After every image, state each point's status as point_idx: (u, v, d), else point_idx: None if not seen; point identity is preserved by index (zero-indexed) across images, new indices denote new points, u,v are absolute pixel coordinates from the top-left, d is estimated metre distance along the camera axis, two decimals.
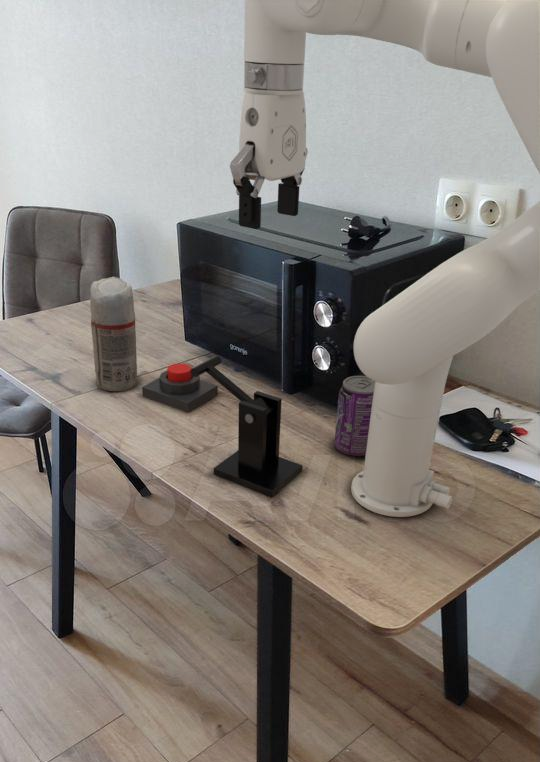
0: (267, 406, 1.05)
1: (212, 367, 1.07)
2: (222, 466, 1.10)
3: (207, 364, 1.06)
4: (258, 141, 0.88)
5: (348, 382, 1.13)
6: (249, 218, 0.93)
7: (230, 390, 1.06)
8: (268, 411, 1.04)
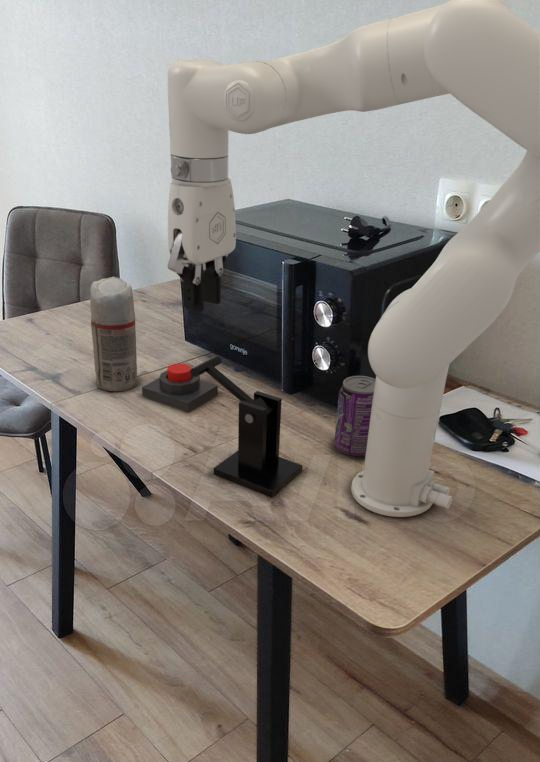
0: (267, 406, 1.05)
1: (212, 367, 1.07)
2: (222, 466, 1.10)
3: (207, 364, 1.06)
4: (184, 229, 0.92)
5: (348, 382, 1.13)
6: (192, 302, 0.99)
7: (230, 390, 1.06)
8: (268, 411, 1.04)
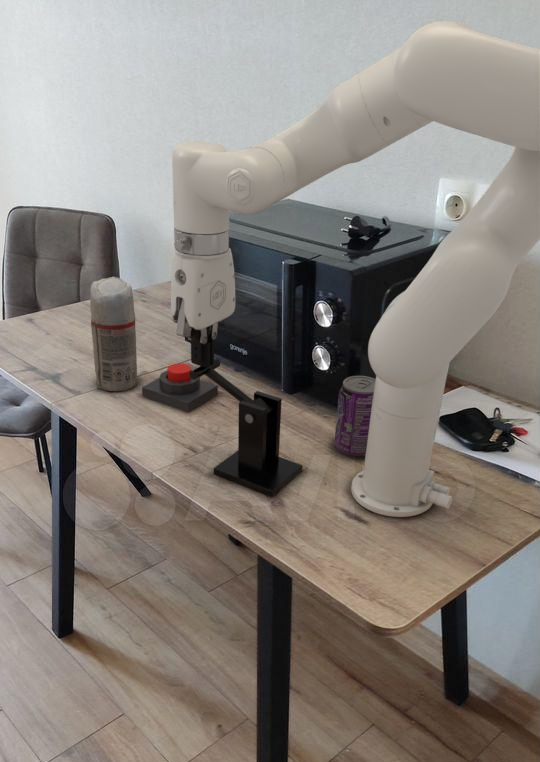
0: (267, 406, 1.05)
1: (211, 369, 1.07)
2: (222, 466, 1.10)
3: None
4: (186, 298, 0.97)
5: (348, 382, 1.13)
6: (199, 359, 1.05)
7: (230, 391, 1.06)
8: (268, 410, 1.04)
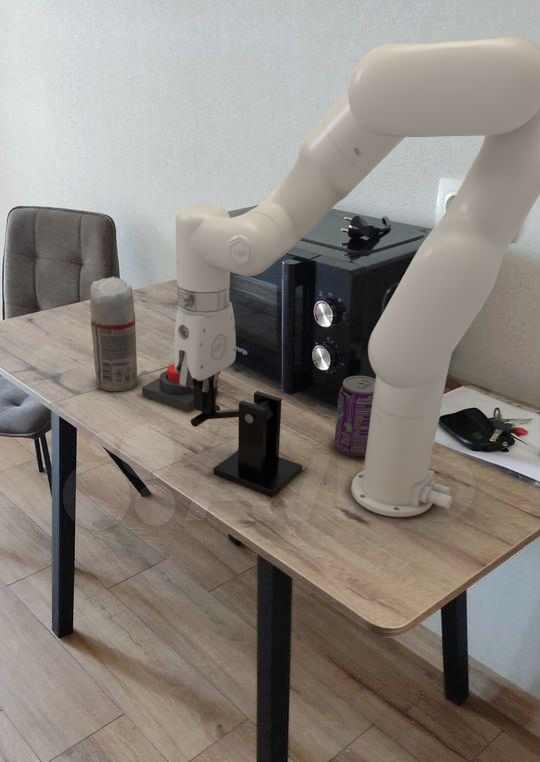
0: (262, 402, 1.05)
1: None
2: (222, 466, 1.10)
3: None
4: (189, 352, 1.01)
5: (348, 382, 1.13)
6: (201, 406, 1.09)
7: (230, 415, 1.08)
8: (263, 403, 1.04)
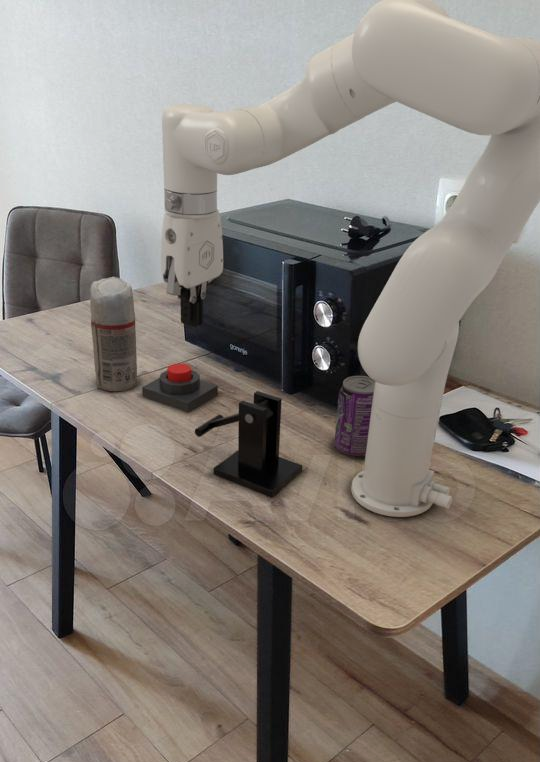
0: (261, 402, 1.05)
1: (212, 421, 1.12)
2: (222, 466, 1.10)
3: (207, 422, 1.12)
4: (176, 257, 1.00)
5: (348, 382, 1.13)
6: (189, 319, 1.09)
7: (232, 420, 1.09)
8: (262, 402, 1.04)
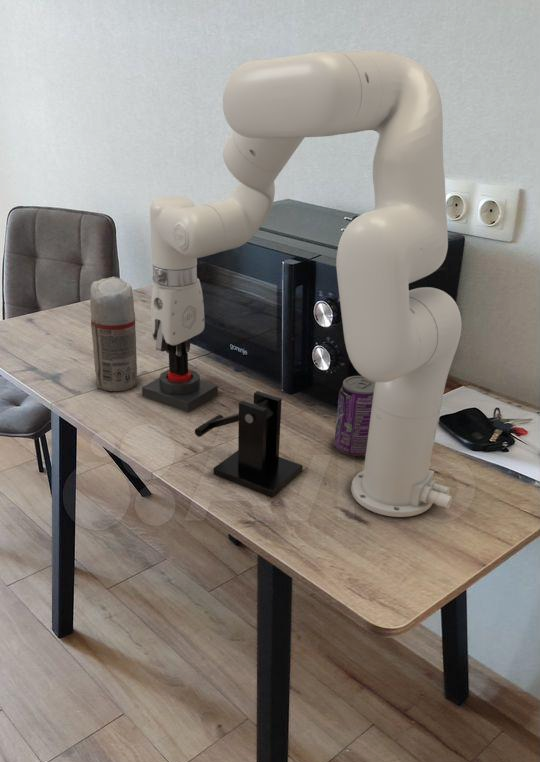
0: (261, 402, 1.05)
1: (212, 421, 1.12)
2: (222, 466, 1.10)
3: (207, 422, 1.12)
4: (163, 320, 1.20)
5: (348, 382, 1.13)
6: (176, 369, 1.29)
7: (232, 420, 1.09)
8: (262, 402, 1.04)
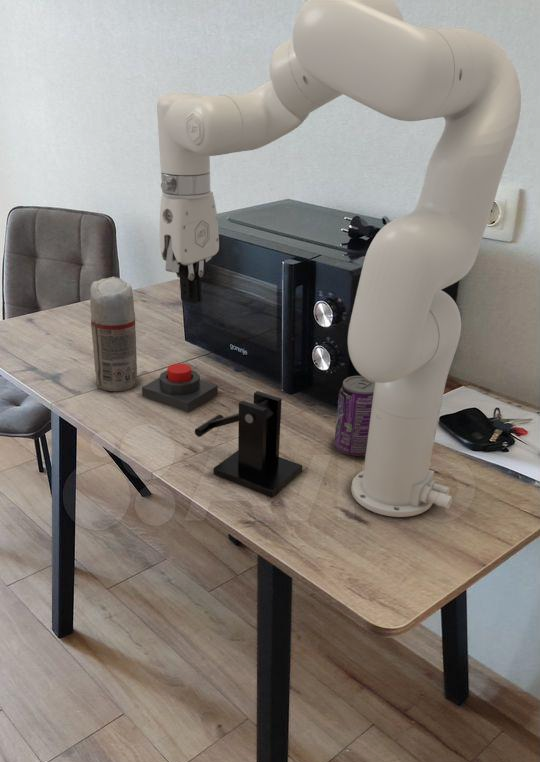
0: (261, 402, 1.05)
1: (212, 421, 1.12)
2: (222, 466, 1.10)
3: (207, 422, 1.12)
4: (173, 235, 1.08)
5: (348, 382, 1.13)
6: (188, 295, 1.16)
7: (232, 420, 1.09)
8: (262, 402, 1.04)
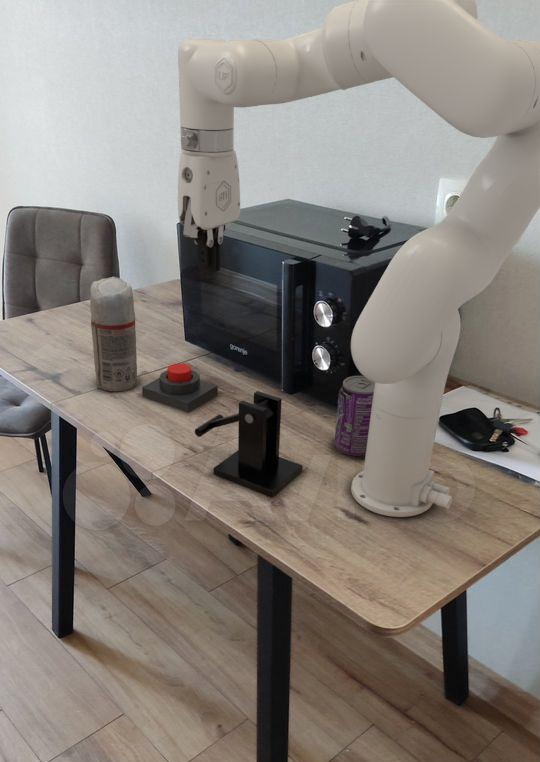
0: (261, 402, 1.05)
1: (212, 421, 1.12)
2: (222, 466, 1.10)
3: (207, 422, 1.12)
4: (193, 196, 0.99)
5: (348, 382, 1.13)
6: (206, 264, 1.08)
7: (232, 420, 1.09)
8: (262, 402, 1.04)
